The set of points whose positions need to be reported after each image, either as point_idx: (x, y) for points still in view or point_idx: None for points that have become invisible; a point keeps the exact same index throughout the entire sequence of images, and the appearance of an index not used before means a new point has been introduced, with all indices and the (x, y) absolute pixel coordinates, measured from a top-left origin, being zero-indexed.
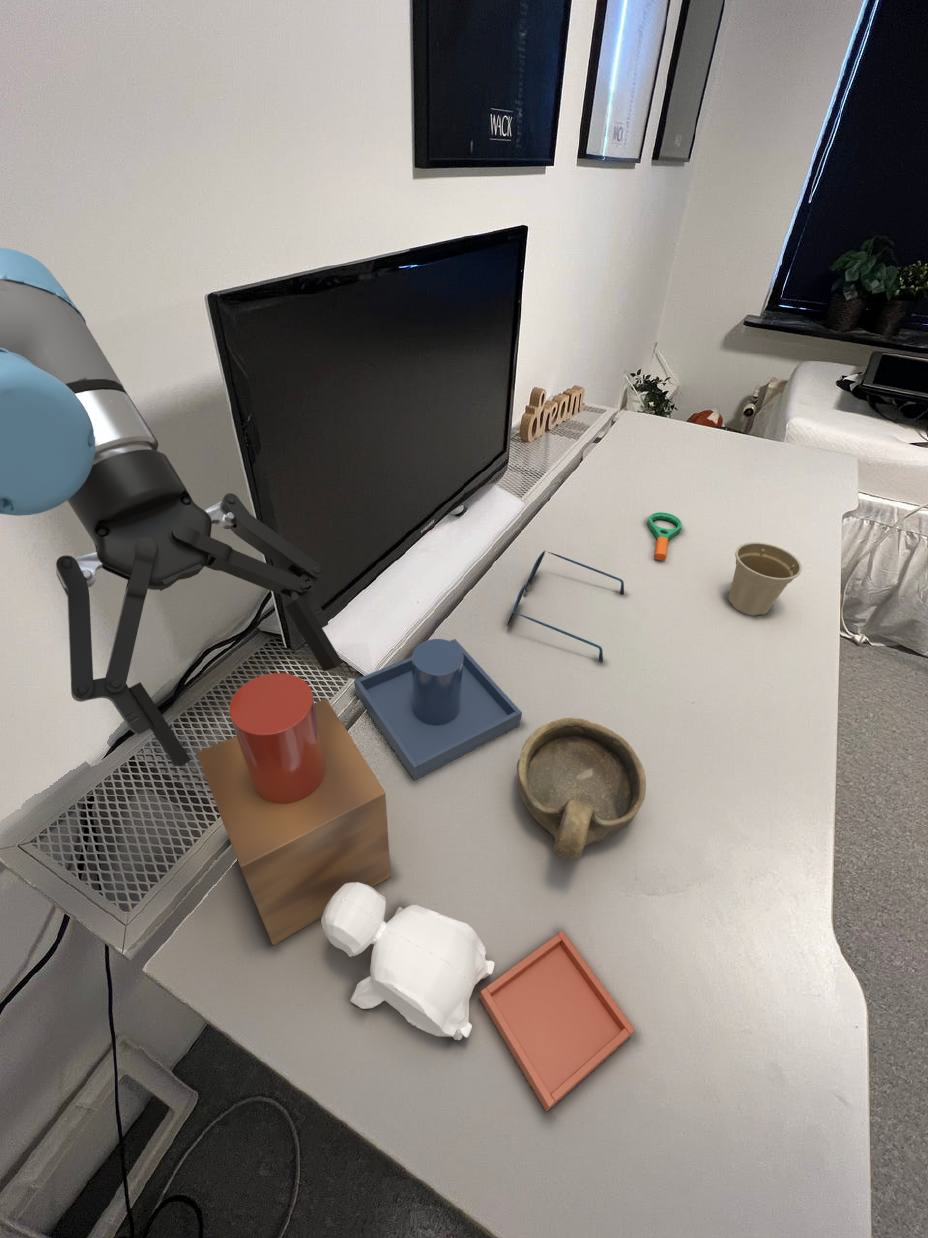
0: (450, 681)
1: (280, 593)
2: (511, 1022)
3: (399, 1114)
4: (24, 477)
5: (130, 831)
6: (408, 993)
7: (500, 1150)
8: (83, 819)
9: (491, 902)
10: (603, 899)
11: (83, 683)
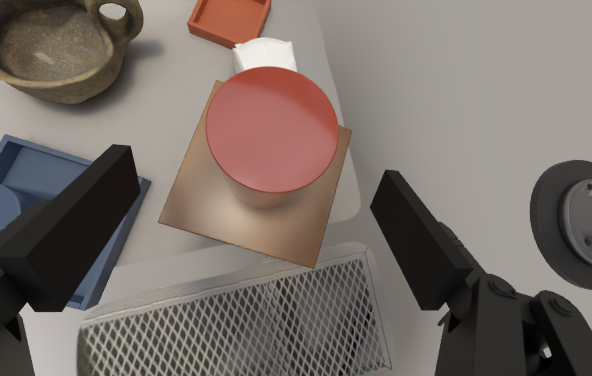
0: (12, 186)
1: (25, 343)
2: (250, 34)
3: (317, 63)
4: None
5: (333, 318)
6: (291, 54)
7: (296, 19)
8: (352, 357)
9: (199, 77)
10: (146, 18)
11: (564, 318)
